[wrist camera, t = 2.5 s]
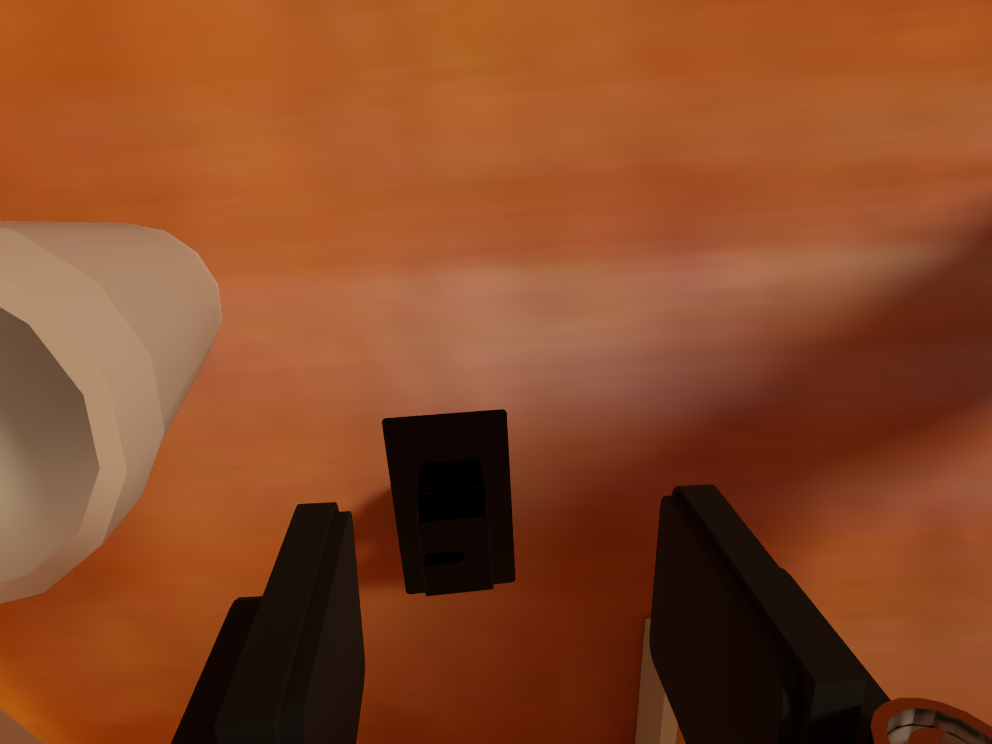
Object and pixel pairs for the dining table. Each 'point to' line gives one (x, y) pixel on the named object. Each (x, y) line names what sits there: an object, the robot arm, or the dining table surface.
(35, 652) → the dining table surface
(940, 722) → the robot arm
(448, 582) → the black piece
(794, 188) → the dining table surface
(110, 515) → the foam cup
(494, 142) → the dining table surface
